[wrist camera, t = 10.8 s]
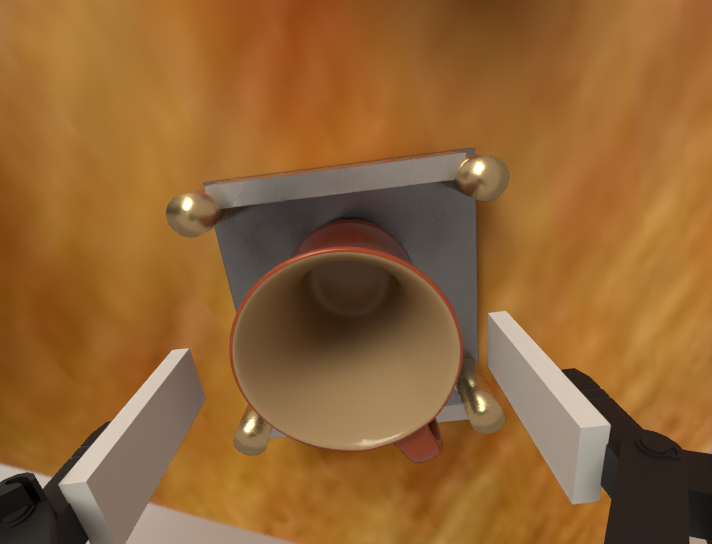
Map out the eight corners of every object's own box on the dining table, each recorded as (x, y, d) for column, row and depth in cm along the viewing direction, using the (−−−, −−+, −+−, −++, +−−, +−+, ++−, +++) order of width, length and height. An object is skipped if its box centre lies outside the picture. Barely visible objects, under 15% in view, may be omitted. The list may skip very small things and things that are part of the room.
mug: (255, 249, 23) (179, 326, 13) (374, 174, 21) (388, 198, 12) (355, 386, 26) (354, 528, 16) (465, 329, 25) (535, 449, 15)
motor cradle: (263, 395, 28) (238, 459, 22) (209, 181, 22) (159, 193, 17) (474, 374, 27) (505, 434, 21) (470, 148, 22) (509, 148, 16)
